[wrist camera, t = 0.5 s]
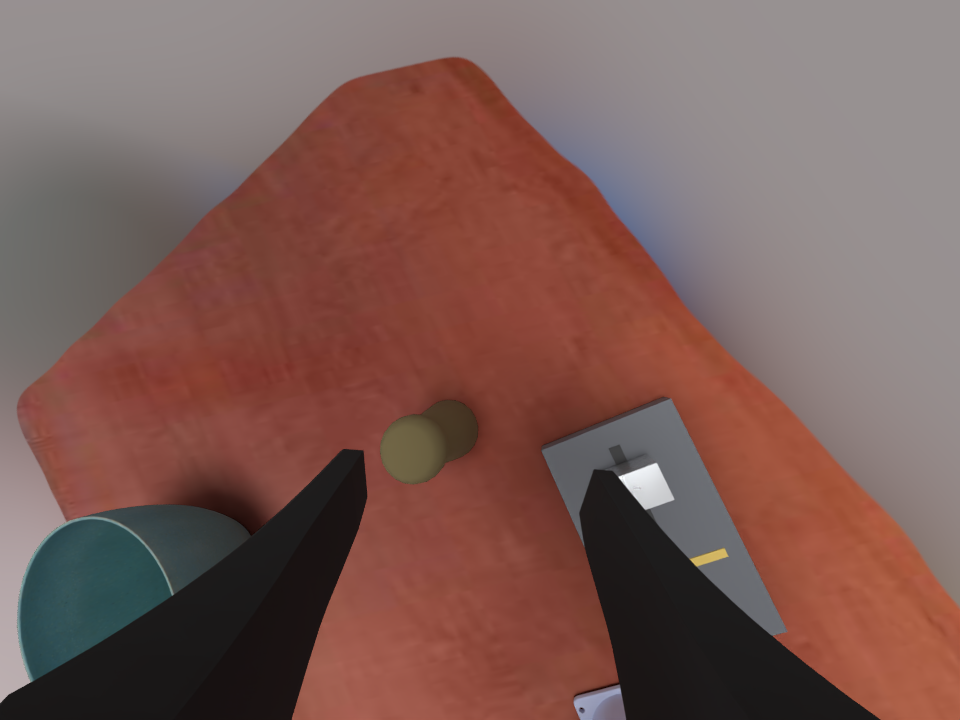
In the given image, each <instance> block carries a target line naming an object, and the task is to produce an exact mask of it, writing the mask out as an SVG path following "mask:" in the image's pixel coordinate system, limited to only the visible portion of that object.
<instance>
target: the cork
mask: <svg viewBox="0 0 960 720" xmlns="http://www.w3.org/2000/svg"><path fill="white" fill-rule="evenodd" d="M477 437H478V425H477V421H476V418H475V416H474V414H473V413H472V411H471V410H470V409H469V408H468V407H467V406H466V405H464V404H463V403H460V402H458V401H456V400H444V401H440V402H437V403H436V404H434V405H433V406H431V407H430V408H429V409H427V410H426V411H425V412H423V413H422V414H421V415H416V414H412V415H408V416H405V417H401V418H399V419H398V420H396V421H395V422H393V423H392V424H391V425H390V426H389V428H388V429H387V430H386V431H385V433H384V435H383V438H382V440H381V447H380V454H381V459H382V463H383V465H384V466H385V468H386V470H387V472H388V473H389V474H390V475H391V476H392V477H394V478H395V479H396V480H398V481H400V482H402V483H407V484H418V483H423V482H427V481H428V480H430V479H432V478H433V477H435V476H436V475H437V474H438V473H439V471H440V470H441V469H442V468H443V467H444V464H445V463H446V462H449V461H452V460H454V459H457V458H460V457H462V456H463V455H465V454H467V453H468V452H469V451H470V450H471V449H472V447H473V446H474V445H475V442H476V440H477Z"/></svg>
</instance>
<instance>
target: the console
mask: <svg viewBox="0 0 960 720" xmlns="http://www.w3.org/2000/svg"><path fill="white" fill-rule="evenodd" d="M541 451H542V453H543V455H544V458H545V460H546V462H547V464H548V467H549V469H550V471H551V473H552V476H553V478H554V480H555V482H556V484H557V487H558V489H559V491H560V493H561V496H562V498H563V500H564V502H565V505H566V507H567V509H568V511H569V514H570V516H571V518H572V520H573V522H574V525H575V527H576V529H577V531H578V534H579V536H580V538H581V540H582V543H583V545H584V541H583V535H582V529H581V523H580V516H579V512H580V509H581V506H582V503H583V500H584V497H585V494H586V491H587V488H588V485H589V482H590V479H591V476H592V473H593V470H594V469H598V470H605V469H608V468H611V467H613V466H616V465H619V464H621V463H624V462H627V461H629V460H632V459H635V458H637V457H640V456H642V455H645V454H647V455H649V456H650V457H651V458H652V459H653V460H654V461H655V462H656V463H657V464H658V466H659V468H660V471H661V473H662V475H663V477H664V479H665V481H666V483H667V485H668V487H669V489H670V491H671V493H672V495H673V497H674V499H675V500H673V501H670V502H667V503H664V504H661V505H658V506H655V507H653V508H650V509H647V510H646V511H647V513H648V514H649V515H650V516H651V517H652V518H653V520H654V521H655V522H656V523H657V524H658V525H659V526H660V528H661V529H662V530H663V531H664V532H665V533H666V534H667V536H668V537H669V538H670V539H671V540H672V541H673V542H674V543H675V544H676V545H677V547H678V548H679V549H680V550H681V551H682V552H683V553H684V554H685V555H686V556H687V557H688V558H689V559H690V560H691V561H692V562H693V563H694V564H695V565H696V567H697V568H698V569H699V570H700V571H701V572H702V573H703V574H704V575H705V576H706V577H707V578H708V579H709V580H710V581H712V582H713V583H714V584H715V585H716V586H717V587H718V588H719V589H720V590H721V591H722V592H723V593H724V594H725V595H726V596H727V597H728V598H730V599H731V600H732V601H733V602H734V603H735V604H736V605H737V606H738V607H739V608H740V609H741V610H743V611H744V612H745V613H746V614H747V615H748V616H749V617H750V618H752V619H753V620H754V621H755V622H756V623H757V624H759V625H760V626H761V627H762V628H763V629H764V630H766V631H767V632H768V633H769V634H770V635H771V636H773V635H777V634H781V633H784V632H787V630H786V628H785V626H784V624H783V622H782V620H781V618H780V616H779V614H778V612H777V610H776V608H775V606H774V604H773V602H772V600H771V598H770V596H769V594H768V592H767V590H766V588H765V586H764V584H763V582H762V580H761V578H760V576H759V574H758V572H757V570H756V568H755V566H754V564H753V562H752V560H751V558H750V556H749V554H748V552H747V550H746V548H745V546H744V544H743V542H742V540H741V538H740V536H739V534H738V532H737V530H736V528H735V526H734V524H733V522H732V520H731V518H730V516H729V514H728V512H727V510H726V508H725V506H724V504H723V502H722V500H721V498H720V496H719V494H718V492H717V490H716V488H715V486H714V484H713V482H712V480H711V478H710V476H709V474H708V472H707V470H706V468H705V466H704V464H703V462H702V460H701V458H700V456H699V454H698V452H697V450H696V448H695V446H694V444H693V442H692V440H691V438H690V436H689V434H688V432H687V430H686V428H685V426H684V424H683V422H682V420H681V418H680V416H679V414H678V412H677V410H676V408H675V406H674V404H673V402H672V400H671V398H666V397H662V398H660V399H657V400H655V401H652V402H650V403H647V404H645V405H642V406H640V407H637V408H635V409H632V410H630V411H627V412H625V413H623V414H620V415H618V416H615V417H613V418H610V419H608V420H605V421H603V422H600V423H598V424H595V425H593V426H590V427H588V428H585V429H583V430H580V431H578V432H575V433H573V434H570V435H568V436H565V437H563V438H560V439H558V440H556V441H553V442H551V443H548V444H546V445H543V446H542V449H541Z"/></svg>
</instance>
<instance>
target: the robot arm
mask: <svg viewBox="0 0 960 720" xmlns="http://www.w3.org/2000/svg"><path fill="white" fill-rule="evenodd" d="M366 500H367V486H366V475H365V463H364V451H362V450H350V449H343V450H342V451H340V452H339V453H338V454H337V456H336V457H335V458H334V459H333V460H332V461H331V462H330V463H329V464H328V465H327V466H326V467H325V468H324V469H323V470H322V471H321V472H320V473H319V474H318V475H317V476H316V477H315V478H314V479H313V480H312V481H311V482H310V483H309V484H308V485H307V486H306V487H305V488H304V489H303V490H302V491H301V492H300V493H299V494H298V495H297V496H296V497H295V498H294V499H293V500H291V501H290V502H289V503H288V504H287V505H286V506H285V507H284V508H283V509H282V510H281V511H280V512H278V513H277V514H276V515H275V516H274V517H273V518H272V519H271V520H269V521H268V522H267V523H266V524H265V525H264V526H263V527H261V528H260V529H259V530H258V531H257V532H256V533H255V534H253V535H252V536H251V537H250V538H248V539H247V540H246V541H245V542H244V543H242V544H241V545H240V546H239V547H237V548H236V549H235V550H234V551H232V552H231V553H230V554H228V555H227V556H226V557H225V558H223V559H222V560H221V561H219V562H218V563H217V564H216V565H214V566H213V567H211V568H210V569H209V570H207V571H206V572H205V573H203V574H202V575H200V576H199V577H198V578H196V579H195V580H194V581H192V582H191V583H189V584H188V585H187V586H185V587H184V588H182V589H181V590H180V591H178V592H177V593H175V594H174V595H172V596H171V597H169V598H168V599H166V600H165V601H164V602H162V603H160V604H159V605H157V606H156V607H154V608H153V609H151V610H150V611H148V612H147V613H145V614H143V615H142V616H140V617H139V618H137V619H136V620H134V621H133V622H131V623H130V624H128V625H126V626H125V627H123V628H122V629H120V630H119V631H117V632H116V633H114V634H112V635H111V636H109V637H108V638H106V639H104V640H103V641H101V642H99V643H98V644H96V645H94V646H93V647H91V648H90V649H88V650H86V651H84V652H83V653H81V654H79V655H77V656H76V657H74V658H72V659H70V660H69V661H67V662H65V663H64V664H62V665H60V666H58V667H57V668H55V669H53V670H51V671H50V672H48V673H46V674H45V675H43V676H41V677H39V678H38V679H36V680H34V681H32V682H31V683H29V684H27V685H25V686H24V687H22V688H20V689H18V690H16V691H15V692H13V693H11V694H9V695H8V696H7V697H6V698H5V699H4V700H3V701H2V702H1V703H0V720H292V716H293V713H294V709H295V706H296V702H297V699H298V696H299V692H300V689H301V686H302V682H303V679H304V676H305V672H306V669H307V666H308V663H309V659H310V656H311V653H312V650H313V647H314V643H315V640H316V637H317V634H318V631H319V627H320V625H321V622H322V619H323V616H324V614H325V611H326V608H327V606H328V603H329V601H330V598H331V596H332V593H333V591H334V588H335V586H336V584H337V581H338V579H339V576H340V574H341V571H342V569H343V566H344V564H345V561H346V559H347V557H348V554H349V552H350V549H351V547H352V544H353V542H354V539H355V537H356V534H357V531H358V529H359V525H360V522H361V518H362V515H363V511H364V508H365V504H366ZM579 516H580V523H581V529H582V535H583V541H584V547H585V550H586V554H587V558H588V561H589V565H590V568H591V572H592V575H593V579H594V582H595V586H596V589H597V593H598V596H599V600H600V603H601V607H602V610H603V614H604V617H605V620H606V624H607V628H608V632H609V636H610V640H611V644H612V648H613V653H614V658H615V663H616V668H617V673H618V678H619V683H620V685H616V686H612V687H608V688H604V689H601V690H597V691H593V692H589V693H586V694H582V695H578V696H576V697H575V698H574V706H575V708H576V711H577V713H578V716H579V718H580V720H880V719H879V718H877V717H876V716H875V715H873V714H872V713H870V712H869V711H868V710H866V709H865V708H864V707H862V706H861V705H859V704H858V703H857V702H855V701H854V700H852V699H851V698H850V697H848V696H847V695H846V694H844V693H843V692H842V691H840V690H839V689H838V688H836V687H835V686H834V685H833V684H831V683H830V682H829V681H827V680H826V679H825V678H824V677H822V676H821V675H820V674H818V673H817V672H816V671H815V670H813V669H812V668H811V667H809V666H808V665H807V664H806V663H804V662H803V661H802V660H801V659H799V658H798V657H797V656H796V655H794V654H793V653H792V652H791V651H789V650H788V649H787V648H786V647H785V646H783V645H782V644H781V643H780V642H779V641H777V640H776V639H775V638H774V637H773V636H771V635H770V634H769V633H768V632H767V631H766V630H764V629H763V628H762V627H761V626H760V625H759V624H757V623H756V622H755V621H754V620H753V619H752V618H750V617H749V616H748V615H747V614H746V613H745V612H744V611H743V610H741V609H740V608H739V607H738V606H737V605H736V604H735V603H734V602H733V601H732V600H731V599H730V598H728V597H727V596H726V595H725V594H724V593H723V592H722V591H721V590H720V589H719V588H718V587H717V586H716V585H715V584H714V583H713V582H712V581H710V580H709V579H708V578H707V577H706V576H705V575H704V574H703V573H702V572H701V571H700V570H699V569H698V568H697V567H696V565H695V564H694V563H693V562H692V561H691V560H690V559H689V558H688V557H687V556H686V555H685V554H684V553H683V552H682V551H681V550H680V549H679V548H678V547H677V545H676V544H675V543H674V542H673V541H672V540H671V539H670V538H669V537H668V536H667V534H666V533H665V532H664V531H663V530H662V529H661V528H660V526H659V525H658V524H657V523H656V522H655V521H654V520H653V518H652V517H651V516H650V515H649V514H648V513H647V511H646V510H645V509H644V508H643V507H642V505H641V504H640V503H639V502H638V501H637V499H636V498H635V497H634V496H633V495H632V493H631V492H630V491H629V490H628V488H627V487H626V486H625V485H624V484H623V482H622V481H621V480H620V479H619V477H618V476H617V475H616V474H615V473H614V472H613V471H610V470H598V469H594V470H593V473H592V476H591V479H590V482H589V485H588V488H587V491H586V494H585V497H584V500H583V503H582V506H581V509H580V512H579ZM580 707H582V708H584V709H580Z"/></svg>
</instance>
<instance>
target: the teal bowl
mask: <svg viewBox="0 0 960 720" xmlns="http://www.w3.org/2000/svg"><path fill="white" fill-rule="evenodd" d="M250 537H251V535H250V534H249V532H248V531H247V530H246V529H245V527H244V526H242V525H241V524H240V523H239V522H237V521H236V520H234V519H232V518H230V517H228V516H225V515H223V514H221V513H218V512H215V511H212V510H209V509H205V508H200V507H195V506H187V505H145V506H136V507H128V508H121V509H115V510H110V511H105V512H100V513H95V514H91V515H88V516H84V517H80V518H77V519H74V520H71V521H68V522H66V523H64V524H62V525H61V526H59V527H58V528H56V529H55V530H54V531H52V532H51V533H50V534H49V535H48V536H47V537H46V538H45V539H44V540H43V541H42V542H41V544H40V545H39V547H38V548H37V549H36V551H35V552H34V554H33V556H32V558H31V560H30V562H29V564H28V566H27V569H26V572H25V574H24V577H23V581H22V585H21V589H20V594H19V601H18V612H17V613H18V614H17V616H18V617H17V628H18V639H19V645H20V650H21V655H22V659H23V662H24V666H25V669H26V671H27V674H28V677H29V679H30V681H31V682H32V681H34V680H36V679H38V678H39V677H41V676H43V675H45V674H46V673H48V672H50V671H51V670H53V669H55V668H57V667H58V666H60V665H62V664H64V663H65V662H67V661H69V660H70V659H72V658H74V657H76V656H77V655H79V654H81V653H83V652H84V651H86V650H88V649H90V648H91V647H93V646H94V645H96V644H98V643H99V642H101V641H103V640H104V639H106V638H108V637H109V636H111V635H112V634H114V633H116V632H117V631H119V630H120V629H122V628H123V627H125V626H126V625H128V624H130V623H131V622H133V621H134V620H136V619H137V618H139V617H140V616H142V615H143V614H145V613H147V612H148V611H150V610H151V609H153V608H154V607H156V606H157V605H159V604H160V603H162V602H164V601H165V600H166V599H168V598H169V597H171V596H172V595H174V594H175V593H177V592H178V591H180V590H181V589H182V588H184V587H185V586H187V585H188V584H189V583H191V582H192V581H194V580H195V579H196V578H198V577H199V576H200V575H202V574H203V573H205V572H206V571H207V570H209V569H210V568H211V567H213V566H214V565H216V564H217V563H218V562H219V561H221V560H222V559H223V558H225V557H226V556H227V555H228V554H230V553H231V552H232V551H234V550H235V549H236V548H237V547H239V546H240V545H241V544H242V543H244V542H245V541H246V540H247V539H248V538H250Z"/></svg>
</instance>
